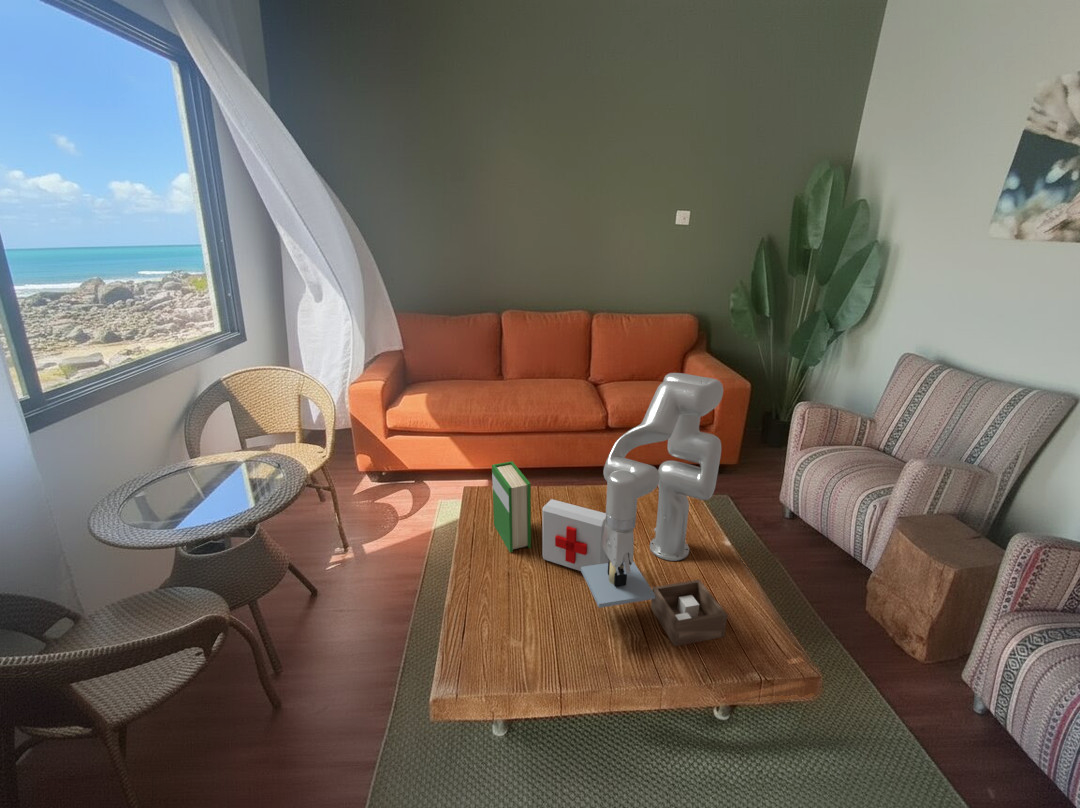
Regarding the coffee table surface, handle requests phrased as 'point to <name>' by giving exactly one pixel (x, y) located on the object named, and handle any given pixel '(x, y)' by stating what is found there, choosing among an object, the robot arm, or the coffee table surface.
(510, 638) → the coffee table surface
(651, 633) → the coffee table surface
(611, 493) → the robot arm
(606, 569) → the lid
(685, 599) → the cube
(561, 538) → the bevelled white case
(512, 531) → the hardback book
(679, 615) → the cube
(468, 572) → the coffee table surface
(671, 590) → the box
